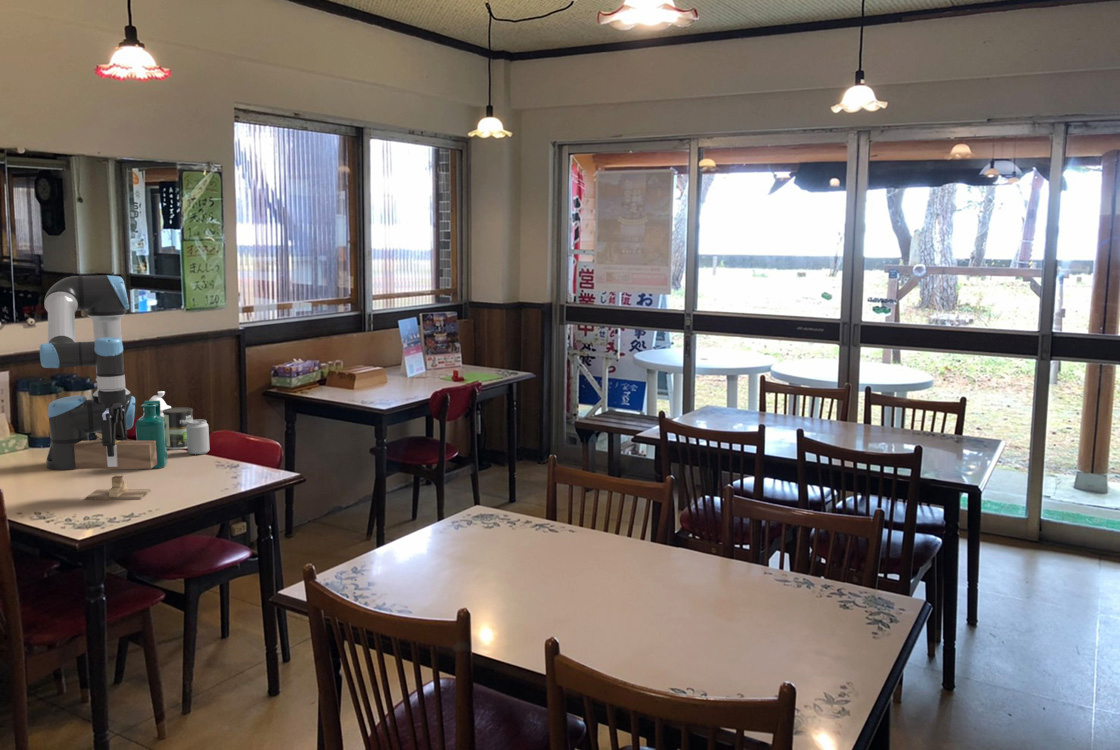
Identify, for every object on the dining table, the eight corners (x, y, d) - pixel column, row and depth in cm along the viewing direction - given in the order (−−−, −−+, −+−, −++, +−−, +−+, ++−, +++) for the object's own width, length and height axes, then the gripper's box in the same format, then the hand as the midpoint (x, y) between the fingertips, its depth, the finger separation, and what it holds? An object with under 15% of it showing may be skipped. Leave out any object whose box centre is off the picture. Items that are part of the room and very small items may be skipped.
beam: (83, 464, 273) (81, 440, 272) (157, 464, 274) (155, 440, 273) (75, 468, 268) (74, 444, 267) (150, 468, 269) (149, 444, 268)
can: (214, 451, 326) (212, 419, 324) (198, 456, 320) (196, 423, 318) (199, 449, 329) (197, 417, 327) (183, 453, 323) (181, 421, 321)
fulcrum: (97, 491, 276) (95, 473, 275) (150, 491, 277) (149, 472, 276) (86, 499, 268) (84, 480, 267) (140, 499, 269) (139, 480, 268)
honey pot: (177, 432, 355) (175, 388, 352) (174, 440, 343) (171, 394, 340) (142, 434, 351) (139, 389, 348) (138, 441, 339) (135, 395, 336)
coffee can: (200, 444, 336) (198, 408, 334) (180, 450, 327) (178, 413, 325) (179, 441, 340) (177, 405, 338) (158, 448, 330) (156, 411, 328)
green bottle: (164, 468, 303) (160, 405, 300) (137, 469, 301) (133, 406, 298) (169, 461, 313) (165, 399, 309) (143, 462, 311) (139, 400, 307)
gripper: (111, 383, 276) (115, 456, 280) (85, 394, 258) (91, 472, 262) (136, 383, 276) (140, 456, 280) (112, 394, 259) (117, 471, 262)
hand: (116, 463), depth 271 cm, fingers closed on beam, 5 cm apart
